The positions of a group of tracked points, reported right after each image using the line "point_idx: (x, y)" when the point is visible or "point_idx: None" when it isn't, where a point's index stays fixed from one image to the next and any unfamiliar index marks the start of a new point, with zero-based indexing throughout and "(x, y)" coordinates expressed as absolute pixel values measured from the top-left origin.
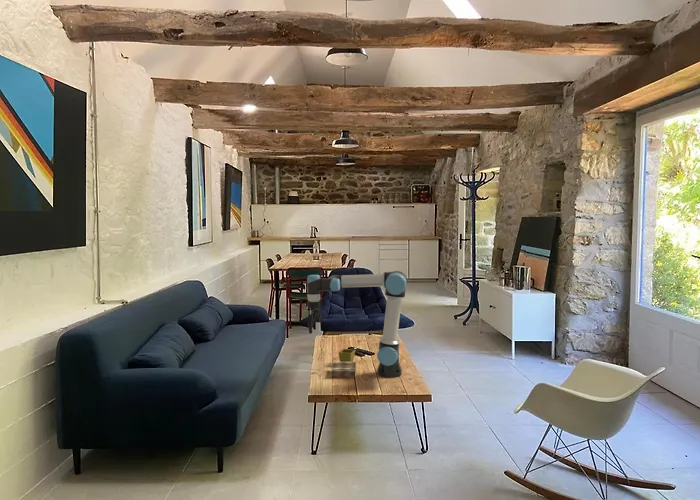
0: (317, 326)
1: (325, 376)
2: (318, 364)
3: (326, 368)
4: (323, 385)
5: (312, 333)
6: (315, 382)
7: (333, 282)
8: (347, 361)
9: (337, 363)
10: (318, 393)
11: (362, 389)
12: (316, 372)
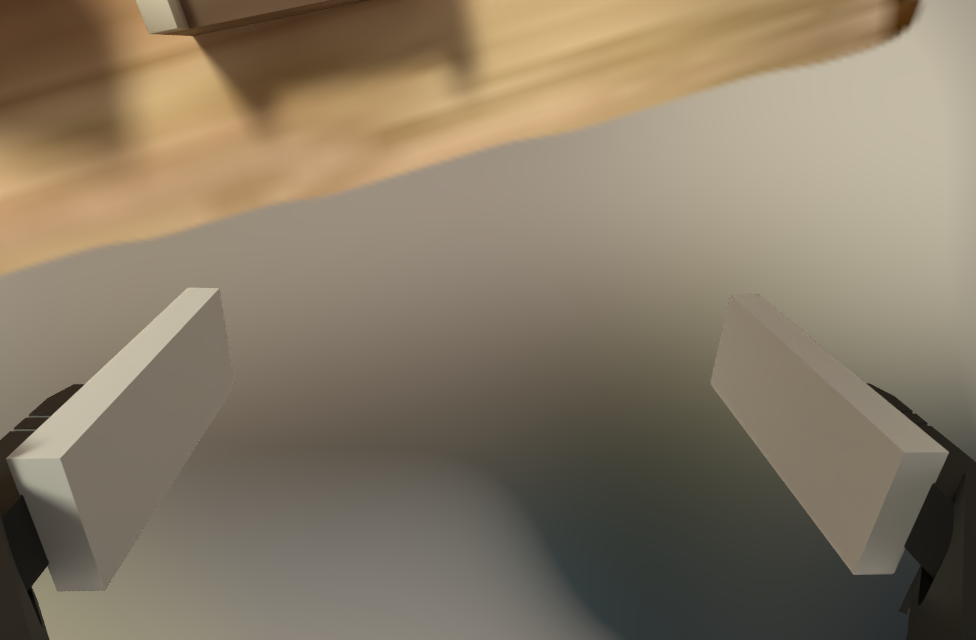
0: (156, 445)
1: (406, 72)
2: (87, 244)
3: (169, 130)
4: (655, 20)
5: (825, 364)
6: (585, 122)
7: None
8: None
9: None
10: (859, 10)
11: None
12: (319, 194)
